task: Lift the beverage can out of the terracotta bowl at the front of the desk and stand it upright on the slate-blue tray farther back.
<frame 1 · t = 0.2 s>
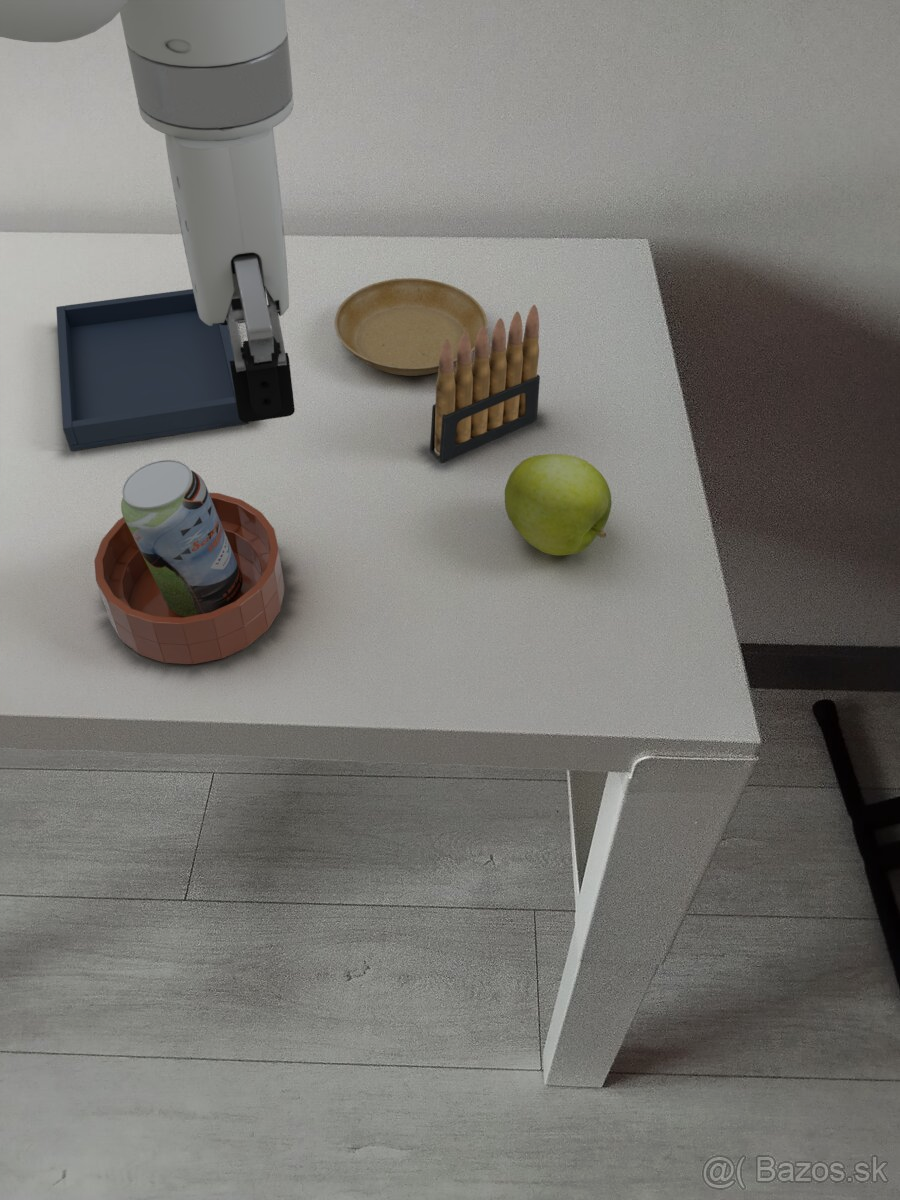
hand: (254, 365, 63), 22 cm above the table, tool pointing down, fingers open, 9 cm apart
ammunition clip: (484, 437, 94), on the table
tray: (151, 374, 98), on the table
apple: (556, 542, 85), on the table
beverage can: (197, 597, 80), resting on bowl
plant saucer: (411, 344, 103), on the table
bowl: (198, 598, 80), on the table
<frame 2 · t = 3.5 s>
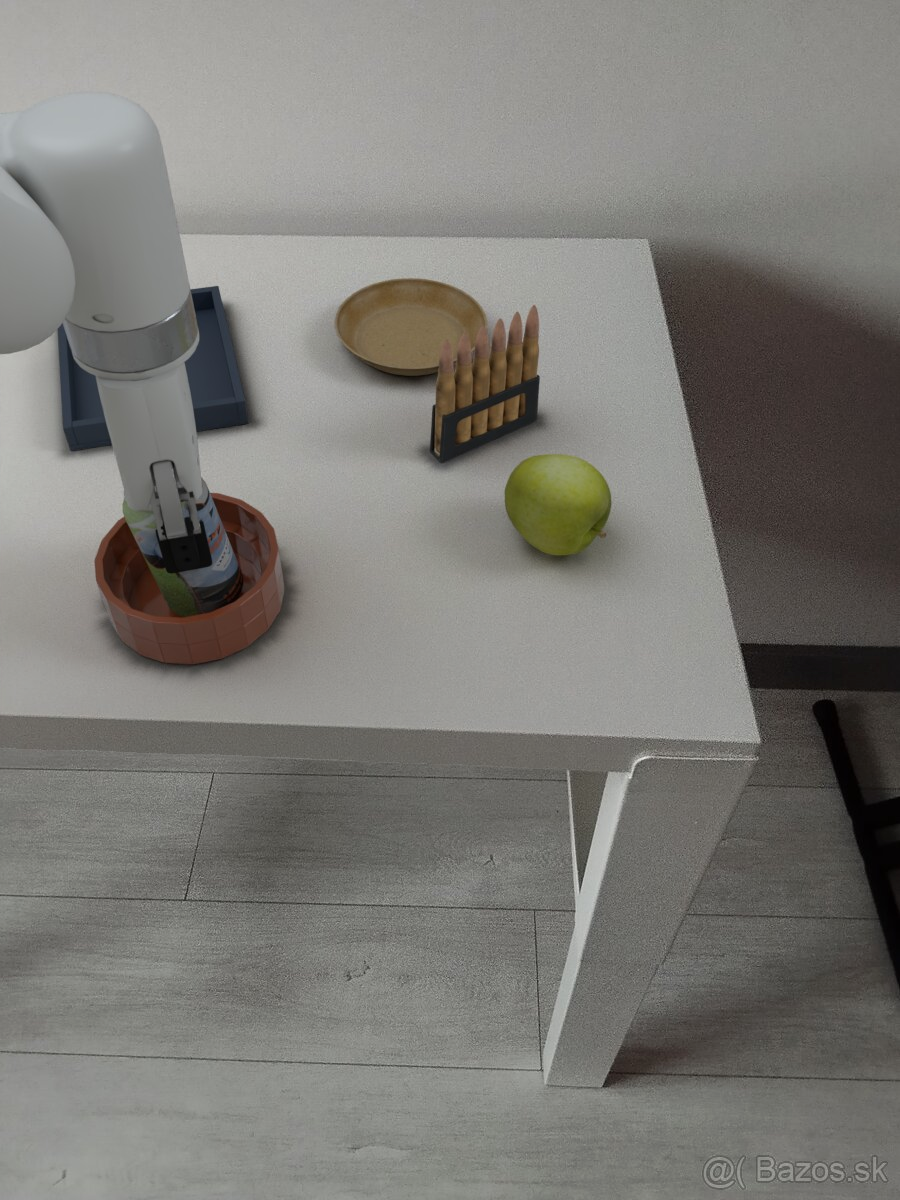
hand: (184, 531, 75), 7 cm above the table, tool pointing down, fingers closed on beverage can, 6 cm apart
beverage can: (198, 597, 80), resting on bowl, touching gripper
everything else where it was.
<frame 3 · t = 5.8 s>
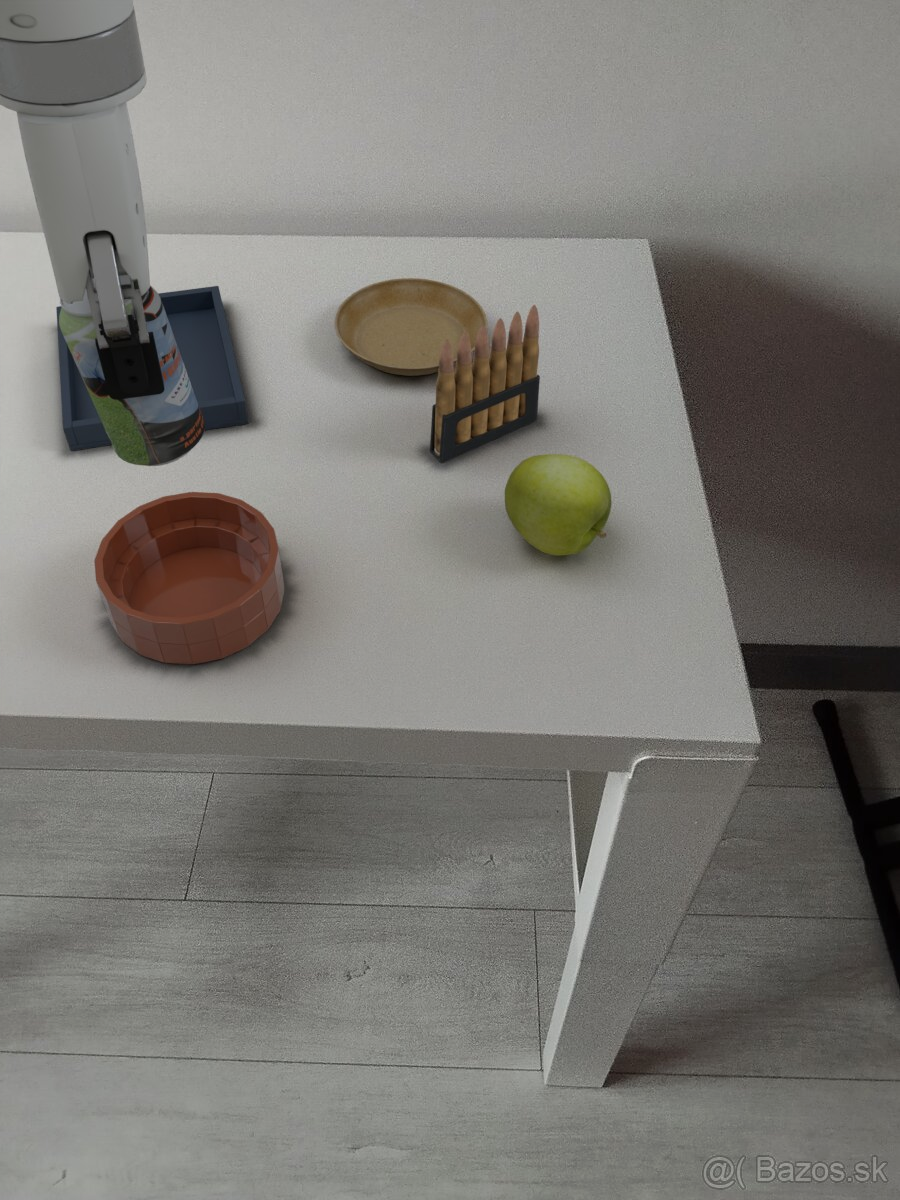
hand: (133, 358, 64), 22 cm above the table, tool pointing down, fingers closed on beverage can, 6 cm apart
beverage can: (152, 448, 69), point 15 cm above the table, touching gripper
everything else where it was.
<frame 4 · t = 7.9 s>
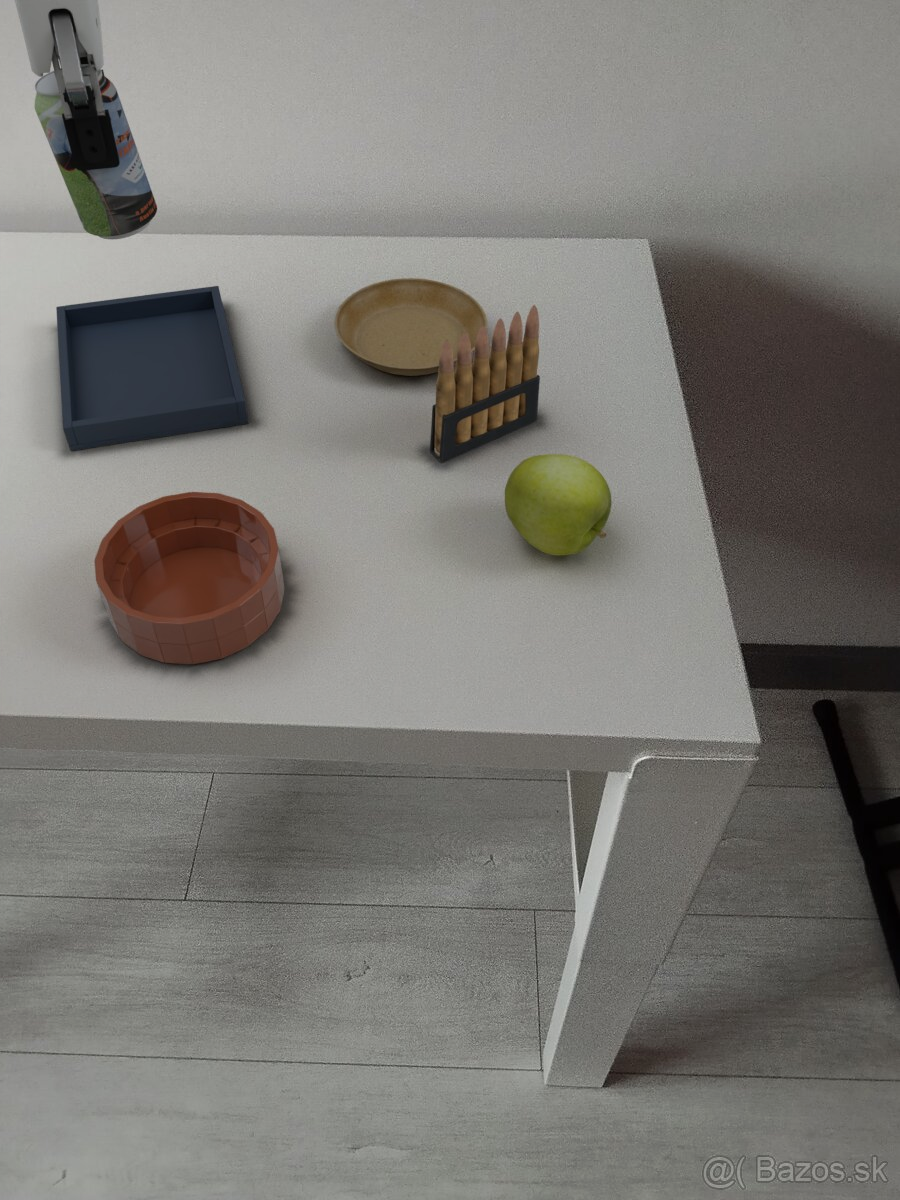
hand: (95, 143, 79), 23 cm above the table, tool pointing down, fingers closed on beverage can, 6 cm apart
beverage can: (115, 229, 84), point 16 cm above the table, touching gripper
everything else where it was.
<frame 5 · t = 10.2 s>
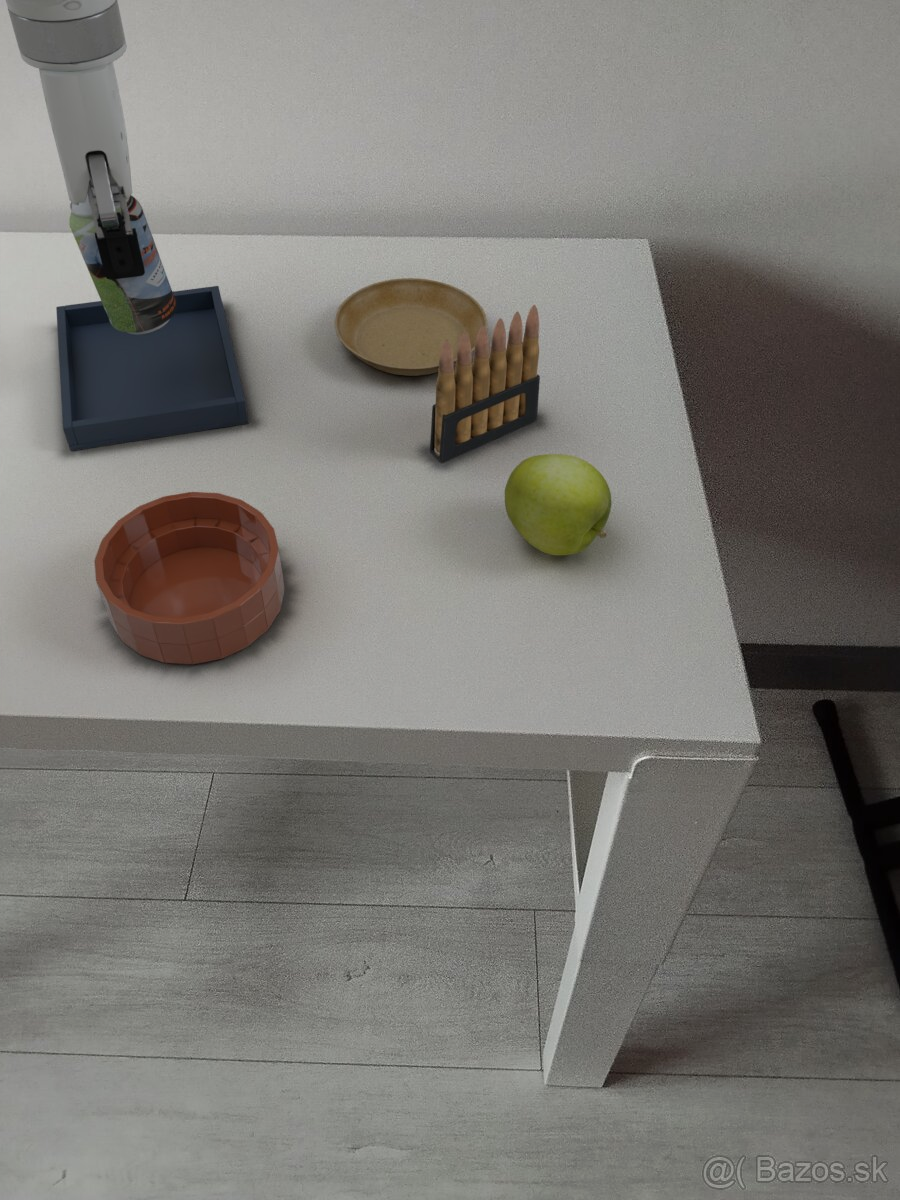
hand: (122, 252, 89), 13 cm above the table, tool pointing down, fingers closed on beverage can, 6 cm apart
beverage can: (138, 323, 94), point 6 cm above the table, touching gripper
everything else where it was.
when the fingers open (7 cm above the table, at t = 12.1 s): beverage can stays where it is, resting on tray.
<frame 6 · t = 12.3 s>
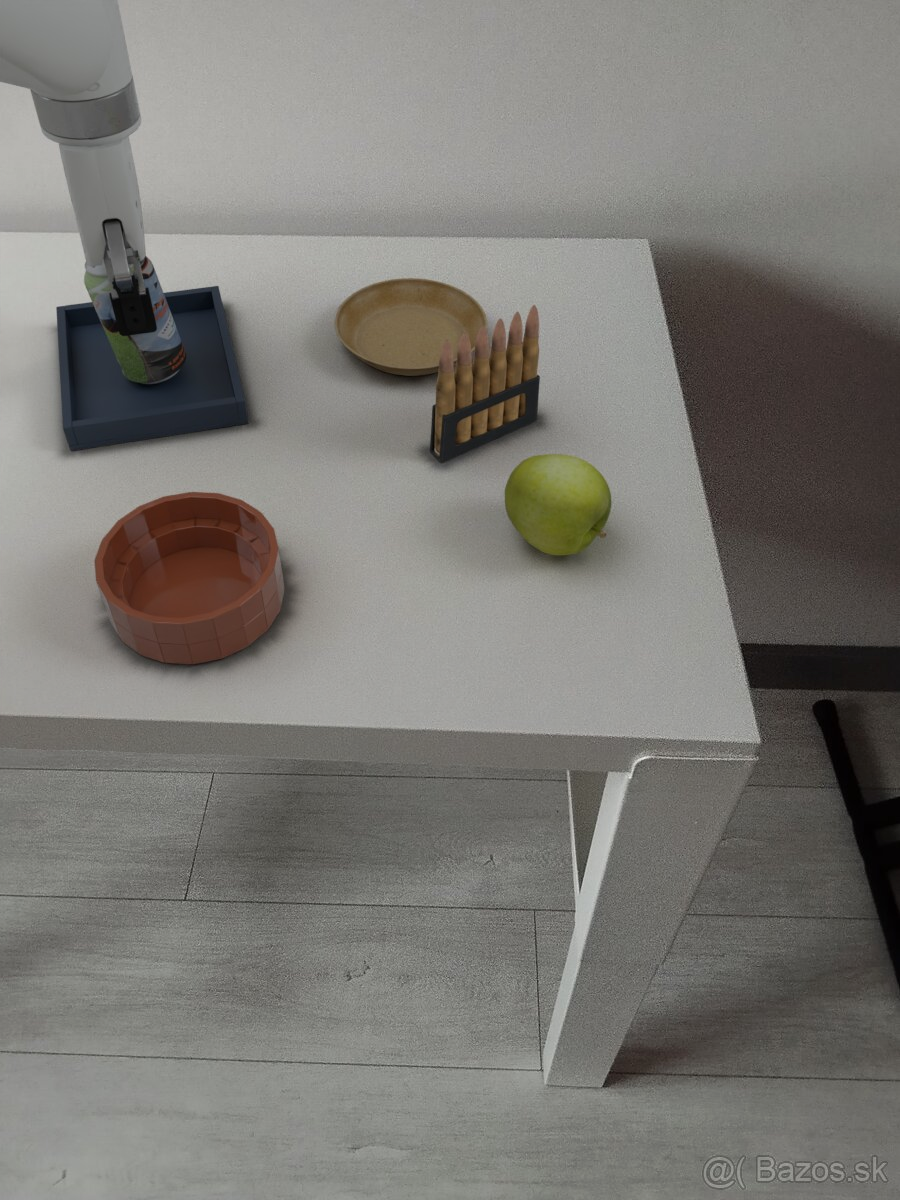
hand: (134, 304, 92), 8 cm above the table, tool pointing down, fingers open, 7 cm apart
beverage can: (150, 373, 98), resting on tray
everything else where it was.
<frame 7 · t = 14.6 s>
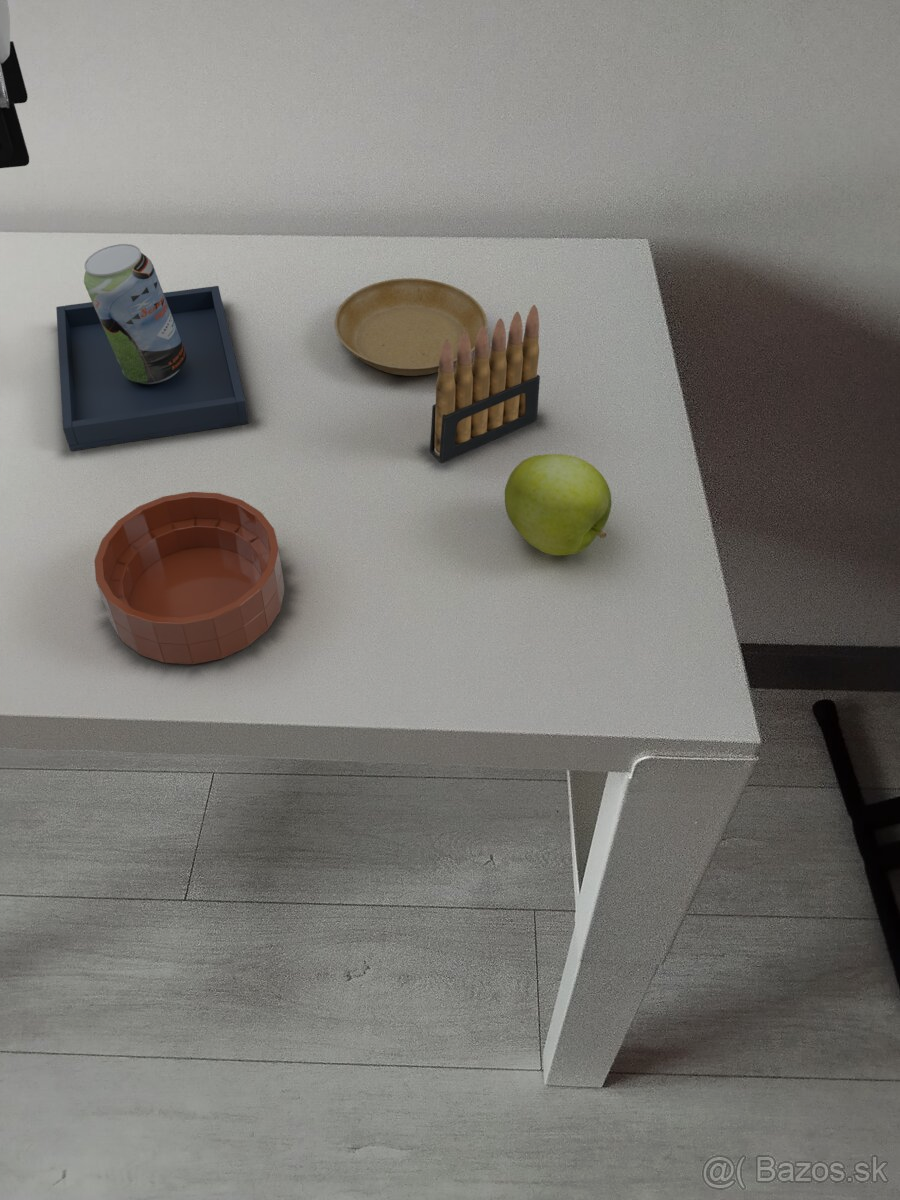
hand: (5, 132, 72), 27 cm above the table, tool pointing down, fingers open, 9 cm apart
nothing on the table moved.
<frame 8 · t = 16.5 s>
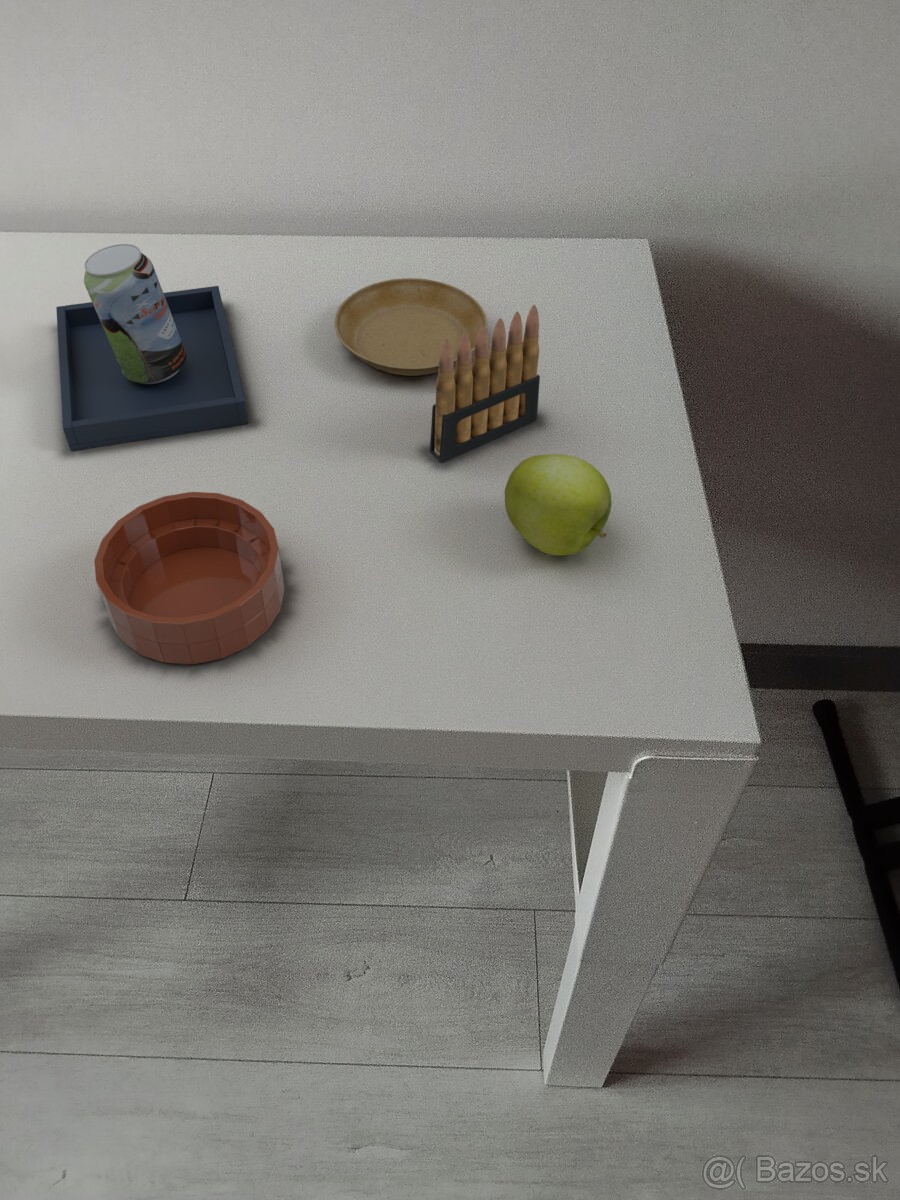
nothing on the table moved.
at the end: beverage can inside the target area in the tray (0.3 cm from its centre), point 0.4 cm above the tray's base; beverage can tilted 0°; the gripper is holding nothing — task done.
